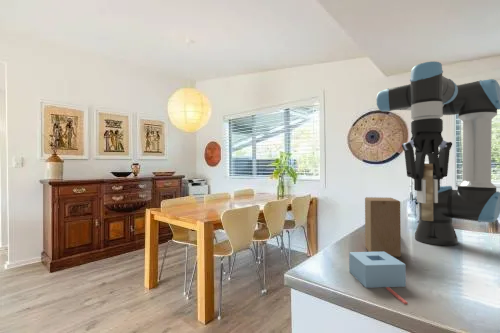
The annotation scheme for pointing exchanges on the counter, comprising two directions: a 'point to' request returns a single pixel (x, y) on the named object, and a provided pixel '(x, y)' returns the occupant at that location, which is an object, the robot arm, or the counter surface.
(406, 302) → the thin red rod
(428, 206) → the tan brown rod
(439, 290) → the counter surface
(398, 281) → the blue block with hole
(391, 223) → the wooden block
